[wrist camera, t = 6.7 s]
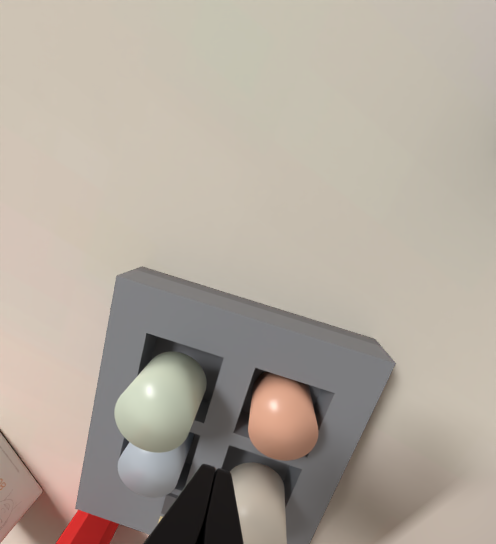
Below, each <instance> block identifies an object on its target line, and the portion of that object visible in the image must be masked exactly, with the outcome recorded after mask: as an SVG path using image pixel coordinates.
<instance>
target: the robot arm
mask: <svg viewBox="0 0 496 544" xmlns="http://www.w3.org/2000/svg"><path fill="white" fill-rule="evenodd" d="M143 544H244V542H243V537H242V531H241V525H240V520H239V514H238V508H237V503H236V497H235V491H234V486H233V480H232V475H231V473H230V471H227V470H224V469H220V468H218V469H217V470H216V468H215V467H214V466H211V465H208V464H202V465H201V466H200V467H199V468H198V470H197V471H196V473H195V474H194V475H193V477H192V478H191V479H190V481H189V482H188V483H187V485H186V486H185V488H184V489H183V490H182V492H181V493H180V494H179V496H178V497H177V498H176V500H175V501H174V503H173V504H172V505H171V507H170V508H169V509H168V511H167V512H166V513H165V515H164V516H163V518H162V519H161V520H160V522H159V523H158V524H157V526H156V527H155V528H154V530H153V531H152V533H151V534H150V535H149V537H148V538H147V539H146V541H145V542H144V543H143Z"/></svg>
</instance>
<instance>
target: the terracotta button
mask: <svg viewBox="0 0 496 544" xmlns="http://www.w3.org/2000/svg"><path fill="white" fill-rule="evenodd" d="M248 433H249V437H250V440H251V442H252V444H253V445H254V446H255V447H256V449H257V450H258V451H260V452H261V453H262V454H264V455H266V456H267V457H270V458H272V459H276V460H283V461H288V460H295V459H298V458H301V457H303V456H305V455H306V454H308V453H309V452H310V451H311V450H312V449H313V448H314V446H315V444H316V442H317V440H318V425H317V421H316V416H315V412H314V407H313V402H312V398H311V393H310V389H309V386H308V384H304V383H301V382H298V381H295V380H292V379H289V378H286V377H283V376H279V375H276V374H273V373H270V372H267V371H266V372H264V373H263V374H261V375H260V376H259V377H258V378H257V380H256V381H255V383H254V386H253V391H252V399H251V408H250V416H249V425H248Z"/></svg>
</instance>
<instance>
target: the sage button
mask: <svg viewBox="0 0 496 544" xmlns="http://www.w3.org/2000/svg"><path fill="white" fill-rule="evenodd" d="M206 385H207V381H206V376H205V373H204V371H203V369H202V367H201V366H200V365H199V363H198V362H197V361H196V360H194V359H193V358H192V357H190V356H188V355H186V354H184V353H180V352H172V351H170V352H164V353H161V354H159V355H157V356H155V357H154V358H153V359H152V360H151V361H150V362H149V363H148V364H147V366H146V367H145V368H144V369H143V370H142V371H141V373H140V374H139V375H138V376H137V377H136V378H135V379H134V381H133V382H132V383H131V384H130V385H129V386H128V388H127V389H126V390H125V391H124V392H123V393H122V394H121V396H120V397H119V398H118V400H117V402H116V405H115V411H114V415H115V421H116V424H117V427H118V429H119V430H120V432H121V434H122V435H123V436H124V437H125V438H126V439H127V440H128V441H129V442H130V443H131V444H133V445H134V446H136V447H138V448H140V449H142V450H145V451H149V452H155V453H162V452H168V451H171V450H174V449H176V448H177V447H179V446H180V445H181V444H182V443H183V442H184V441H185V440H186V438H187V436H188V434H189V432H190V429H191V426H192V424H193V421H194V419H195V416H196V414H197V411H198V409H199V406H200V404H201V401H202V399H203V396H204V393H205V391H206Z"/></svg>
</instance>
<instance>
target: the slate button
mask: <svg viewBox="0 0 496 544" xmlns="http://www.w3.org/2000/svg"><path fill="white" fill-rule="evenodd" d="M193 437H194V433H191V432H189V434H188V436H187V438H186V440H185V441H184V442H183V443H182V444H181V445H180V446H179V447H177V448H176V449H174V450H171V451H168V452H162V453H155V452H149V451H145V450H142V449H140V448H138V447H136V446H134V445H133V444H131V443H130V442H129V444H128V445H127V447H126V448H125V450H124V451H123V453H122V455H121V456H120V458H119V461H118V473H119V476H120V478H121V480H122V481H123V483H124V484H125V485H126V486H127V487H128V488H129V489H130V490H132V491H133V492H135V493H137V494H139V495H141V496H145V497H150V498H158V497H162V496H165V495H167V494H169V493H170V492H172V491H173V490H174V488H175V487H176V485H177V482H178V479H179V477H180V474H181V471H182V468H183V466H184V463H185V460H186V457H187V455H188V452H189V449H190V446H191V444H192V441H193Z"/></svg>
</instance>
